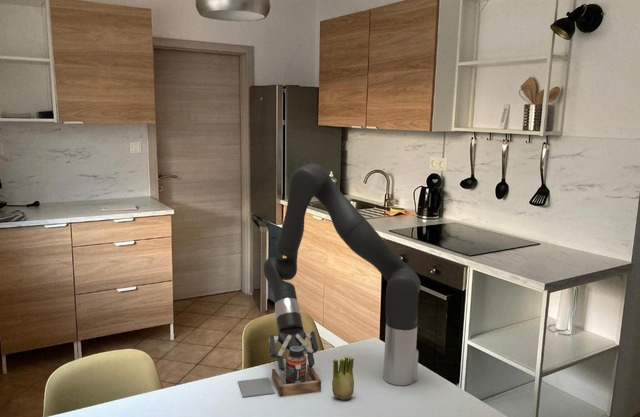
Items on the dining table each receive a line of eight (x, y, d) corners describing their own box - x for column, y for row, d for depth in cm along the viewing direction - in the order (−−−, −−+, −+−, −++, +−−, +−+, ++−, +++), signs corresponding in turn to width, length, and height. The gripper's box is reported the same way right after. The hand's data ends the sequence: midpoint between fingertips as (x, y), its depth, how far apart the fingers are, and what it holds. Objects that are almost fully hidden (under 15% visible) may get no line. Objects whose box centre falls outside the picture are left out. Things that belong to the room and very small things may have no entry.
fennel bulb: (330, 400, 148) (332, 359, 146) (334, 391, 152) (335, 352, 150) (351, 403, 146) (353, 362, 144) (354, 394, 151) (356, 354, 149)
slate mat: (268, 378, 158) (268, 377, 158) (274, 393, 150) (274, 392, 150) (238, 382, 156) (238, 381, 156) (242, 397, 147) (242, 396, 147)
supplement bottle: (303, 391, 152) (304, 353, 150) (283, 388, 153) (283, 351, 151) (307, 381, 158) (308, 345, 156) (288, 378, 159) (289, 342, 157)
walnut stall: (310, 373, 162) (310, 364, 162) (320, 391, 152) (321, 381, 152) (271, 378, 159) (271, 368, 158) (279, 396, 148) (280, 386, 148)
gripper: (267, 313, 157) (275, 367, 148) (313, 309, 161) (324, 361, 152) (263, 323, 163) (270, 376, 154) (308, 319, 167) (318, 370, 158)
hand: (297, 368), depth 153 cm, fingers open, 8 cm apart
